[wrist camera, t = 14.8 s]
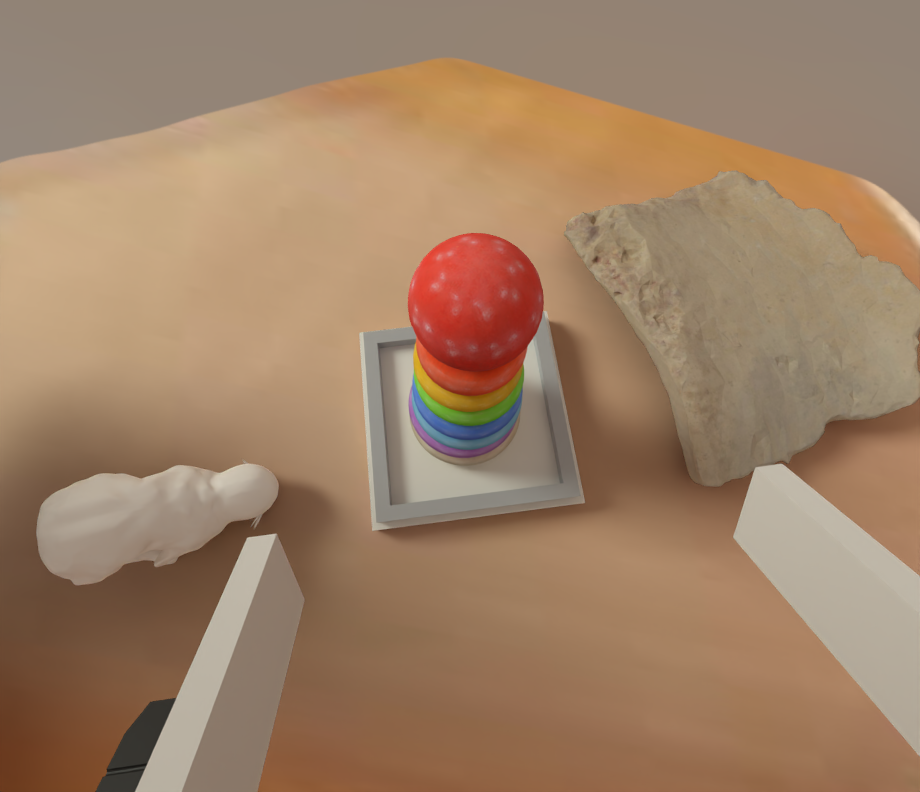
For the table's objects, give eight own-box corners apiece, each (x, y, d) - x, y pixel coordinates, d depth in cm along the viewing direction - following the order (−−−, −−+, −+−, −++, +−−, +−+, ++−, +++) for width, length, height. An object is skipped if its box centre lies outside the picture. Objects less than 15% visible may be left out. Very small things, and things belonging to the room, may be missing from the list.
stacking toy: (505, 479, 30) (569, 423, 12) (398, 452, 31) (308, 361, 13) (528, 376, 32) (610, 201, 14) (426, 353, 33) (383, 156, 15)
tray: (376, 530, 31) (369, 531, 28) (363, 340, 35) (356, 327, 32) (579, 503, 31) (589, 502, 29) (543, 319, 35) (549, 305, 33)
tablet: (736, 182, 41) (549, 231, 37) (805, 110, 33) (582, 162, 30) (880, 416, 35) (678, 502, 31) (1000, 390, 28) (756, 497, 24)
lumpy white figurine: (9, 480, 23) (238, 422, 25) (115, 493, 31) (282, 448, 33) (11, 601, 21) (256, 528, 24) (122, 581, 30) (297, 528, 32)
